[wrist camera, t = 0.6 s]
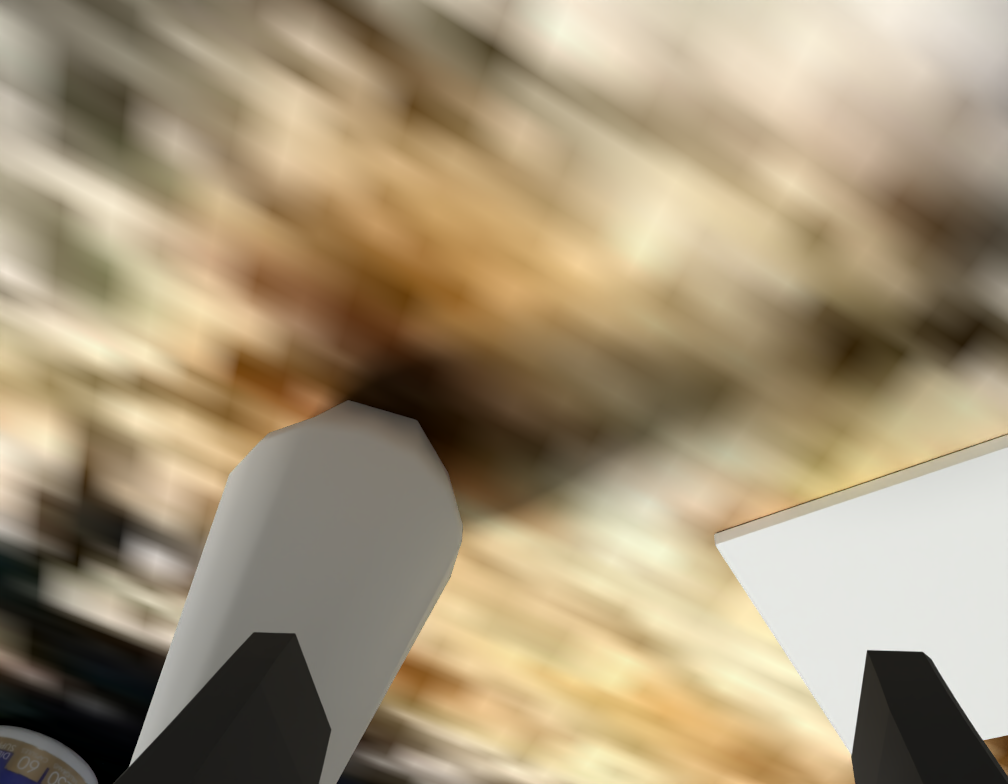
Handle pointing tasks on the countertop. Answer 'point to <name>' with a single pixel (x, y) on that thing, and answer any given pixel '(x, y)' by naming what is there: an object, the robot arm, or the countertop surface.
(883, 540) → the pad
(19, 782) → the pill bottle
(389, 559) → the salt shaker
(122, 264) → the countertop surface
